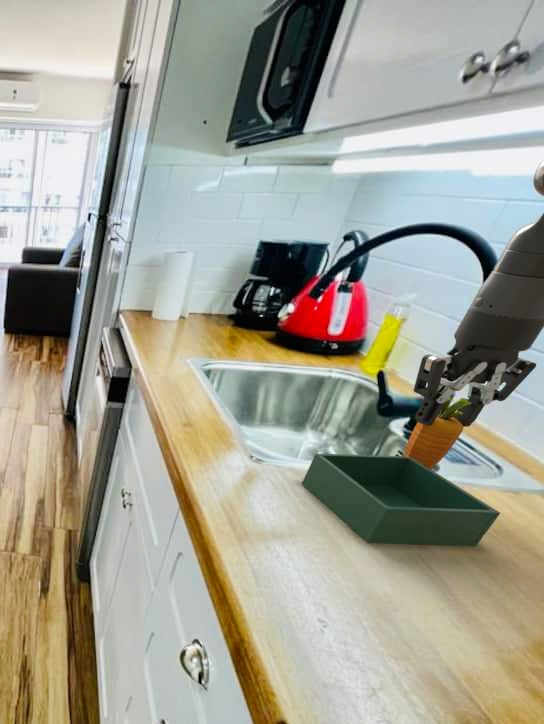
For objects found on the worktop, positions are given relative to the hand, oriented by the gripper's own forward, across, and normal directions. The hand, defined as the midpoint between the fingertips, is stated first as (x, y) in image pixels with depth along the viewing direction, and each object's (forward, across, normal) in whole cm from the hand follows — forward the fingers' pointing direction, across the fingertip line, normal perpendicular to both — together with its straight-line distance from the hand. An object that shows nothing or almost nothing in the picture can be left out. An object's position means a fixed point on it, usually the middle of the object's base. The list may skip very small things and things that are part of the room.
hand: (441, 423), depth 72 cm
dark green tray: (+10, -11, -9) cm, 18 cm away
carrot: (+11, 0, 0) cm, 11 cm away
